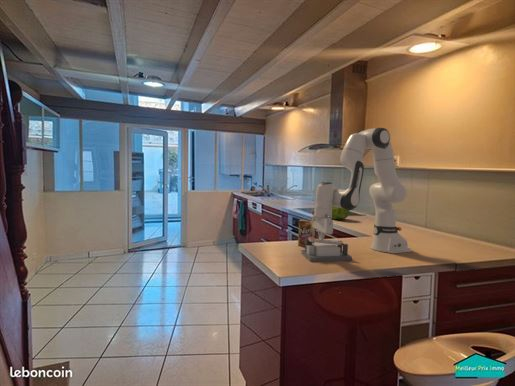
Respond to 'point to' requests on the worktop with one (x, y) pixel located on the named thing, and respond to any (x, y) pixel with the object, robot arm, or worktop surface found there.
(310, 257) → the heatsink board
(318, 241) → the strap
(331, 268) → the worktop surface
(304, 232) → the candy box
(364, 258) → the worktop surface
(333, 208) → the lettuce
